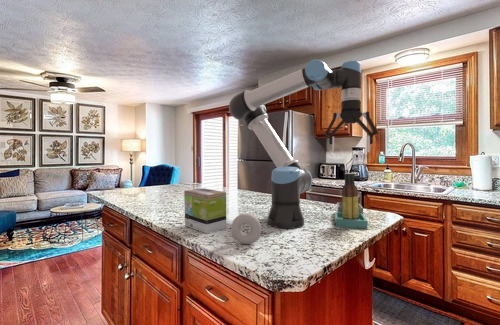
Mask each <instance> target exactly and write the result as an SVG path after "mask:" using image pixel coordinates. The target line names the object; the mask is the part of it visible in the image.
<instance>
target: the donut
mask: <svg viewBox="0 0 500 325" xmlns="http://www.w3.org/2000/svg"><path fill="white" fill-rule="evenodd" d="M244 225H248V226H249V227H250V232H248V233H245V232H243V231H242V227H243V226H244ZM230 226H231V227H230V231H231V235H232V237H233V239H234V240H235V241H236V242H237V243H240V244H241V245H251V244H254V243H255V242H256V241H257V240H259V238H260V237H261V234H262V229H263V228H262V224H261V222H260V220H259V219H258V218H257V217H256V216H255V215H253V214H250V213H241V214H239V215H238V216H236V217H235V218H234V219H233V221H232V223H231V224H230Z"/></svg>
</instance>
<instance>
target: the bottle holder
mask: <svg viewBox="0 0 500 325" xmlns="http://www.w3.org/2000/svg"><path fill="white" fill-rule="evenodd" d="M336 212H340V213H343V210H342V202H336ZM358 214H363V215H364V207H363V206H362V204H361V203H358Z"/></svg>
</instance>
